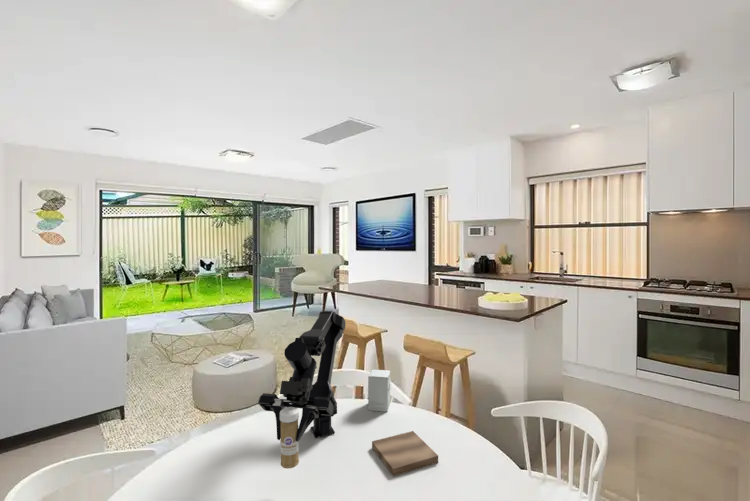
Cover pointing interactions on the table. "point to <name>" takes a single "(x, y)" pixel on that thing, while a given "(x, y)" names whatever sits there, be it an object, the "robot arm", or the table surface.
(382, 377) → the supplement box
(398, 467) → the brown wooden square board
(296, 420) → the sprinkles bottle
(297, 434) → the robot arm
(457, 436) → the table surface
